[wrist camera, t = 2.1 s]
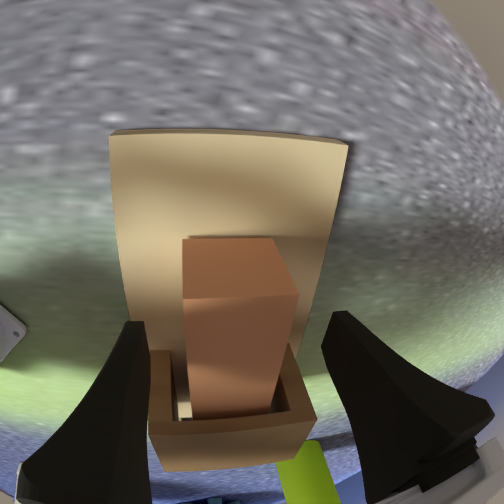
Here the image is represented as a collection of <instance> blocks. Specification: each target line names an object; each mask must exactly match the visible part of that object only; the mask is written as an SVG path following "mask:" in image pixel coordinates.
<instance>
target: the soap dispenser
mask: <svg viewBox="0 0 504 504" xmlns="http://www.w3.org/2000/svg"><path fill="white" fill-rule="evenodd" d="M275 463H276V467H277V470H278V474H279V478H280V481H281V485H282V489H283V492H284V496H285V499H286V503H287V504H341V503H340V499H339V496H338V494H337V491H336V488H335V485H334V482H333V480H332V477H331V474H330V471H329V468H328V465H327V463H326V460H325V457H324V454H323V451H322V449H321V446H320V443H319V442H318V441H316V440H305V442H304V443H303V445H302V447H301V448H300V450H299V451H298V453H297V455H296V456H295V458H294V459H291V460H286V461H281V462H275Z"/></svg>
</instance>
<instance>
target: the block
mask: <svg viewBox="0 0 504 504" xmlns="http://www.w3.org/2000/svg"><path fill="white" fill-rule="evenodd" d="M182 282H183V312H184V329H185V343H186V357H187V369H188V380H189V390H190V400H191V410H192V418H193V421H196V420H213V419H227V418H238V417H248V416H256V415H265V414H268V412H269V408H270V405H271V401H272V398H273V394H274V391H275V387H276V384H277V380H278V376H279V373H280V369H281V366H282V362H283V358H284V354H285V351H286V347H287V343H288V339H289V335H290V331H291V327H292V323H293V319H294V315H295V311H296V307H297V303H298V299H299V295H300V294H299V292H298V290H297V288H296V286H295V284H294V281H293V279H292V277H291V275H290V273H289V271H288V269H287V267H286V265H285V263H284V261H283V259H282V257H281V255H280V253H279V251H278V249H277V247H276V245H275V243H274V241H273V239H272V238H222V239H182Z"/></svg>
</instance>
